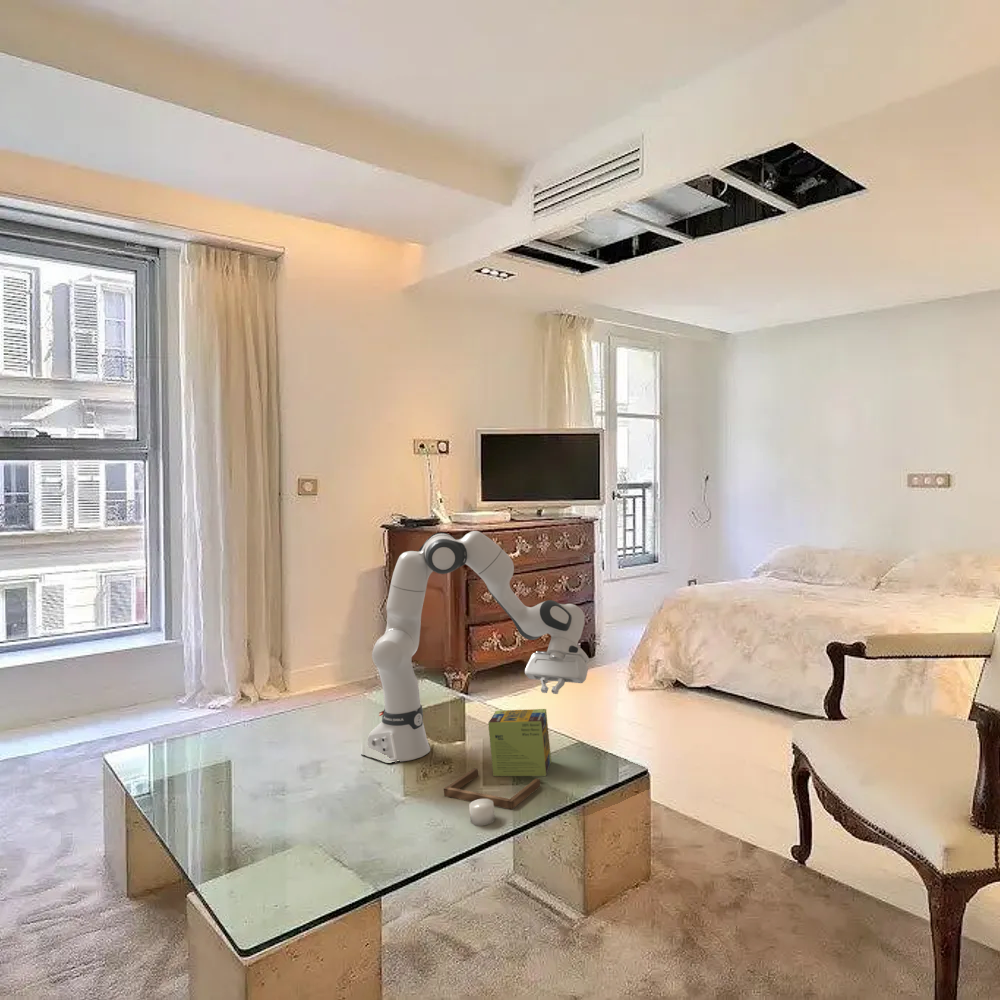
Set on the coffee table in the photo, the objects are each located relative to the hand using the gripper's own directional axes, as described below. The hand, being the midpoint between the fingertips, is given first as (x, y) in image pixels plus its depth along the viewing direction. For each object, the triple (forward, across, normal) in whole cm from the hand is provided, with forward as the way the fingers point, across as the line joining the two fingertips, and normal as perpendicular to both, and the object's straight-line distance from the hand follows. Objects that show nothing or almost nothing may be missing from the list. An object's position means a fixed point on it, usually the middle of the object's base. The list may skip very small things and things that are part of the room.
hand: (548, 692), depth 224 cm
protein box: (+25, 0, -1) cm, 25 cm away
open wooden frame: (+35, 0, -12) cm, 37 cm away
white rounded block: (+46, +7, -22) cm, 51 cm away
